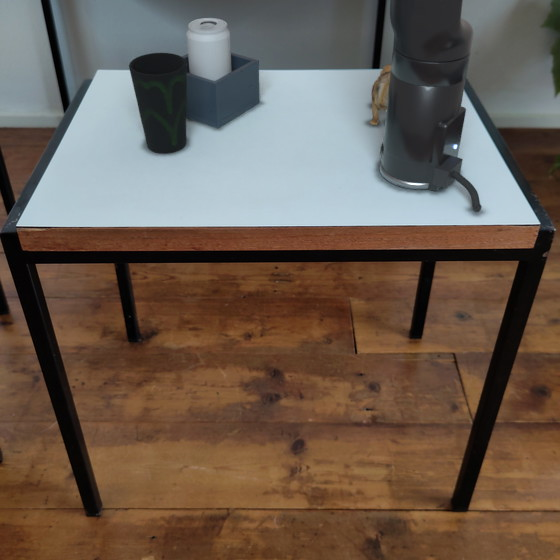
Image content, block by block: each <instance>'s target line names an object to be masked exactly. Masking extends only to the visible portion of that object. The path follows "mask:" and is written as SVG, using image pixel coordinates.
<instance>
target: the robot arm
mask: <svg viewBox="0 0 560 560" xmlns="http://www.w3.org/2000/svg"><path fill="white" fill-rule="evenodd" d="M463 1H464V0H389V19H390V25H391V28H392V32H393V45H392V54H391V63H390V64H391V73H390V82H389V92H388V101H387V111H386V112H385V121H384V132H383V141H382V143H381V145H380V150H379V156H380V162H379V163H380V164H379V172H380V175H381V176H382V177H383V178H384V179H385V181H388V182H389V183H390V184H393V185H395V186H398V187H399V188H400V187H401V188H403V189H404V188H405V189H409V190H429V191H433V192H437V191H439V189H440V188H443V189H448V188H449V187H450V186H451V185H452V184H453V183H454V182H455V181H456V182H457V183H458V184H459V185H461V186H463V188H464V189H465V190H466V191H467V192H468V194H469V196H470V199H471V205H472V208H473V209H474V211H475V212H476V213H478V212H480V211H481V210H482V205H481V201H480V197H479V196H480V195H479V192H478V191H477V189H476V187H475V186H474V185H473V184H472V183H471V182H470V181H469V180H468V179H467V178H466V177H465V176H463V175H462V174H461V171H462V166H463V160H464V159H463V158H461V157H459V152H460V146H461V140H462V134H463V130H464V125H465V119H466V113H467V108H466V107H465V106H462V104H463V97H464V91H465V86H466V79H467V75H468V68H469V62H470V56H471V51H472V45H473V40H474V39H473V38H474V28H473V25H472V24H471V23H470V22H468V20H466V19H464V18H462V13H463V12H462V11H463Z"/></svg>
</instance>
